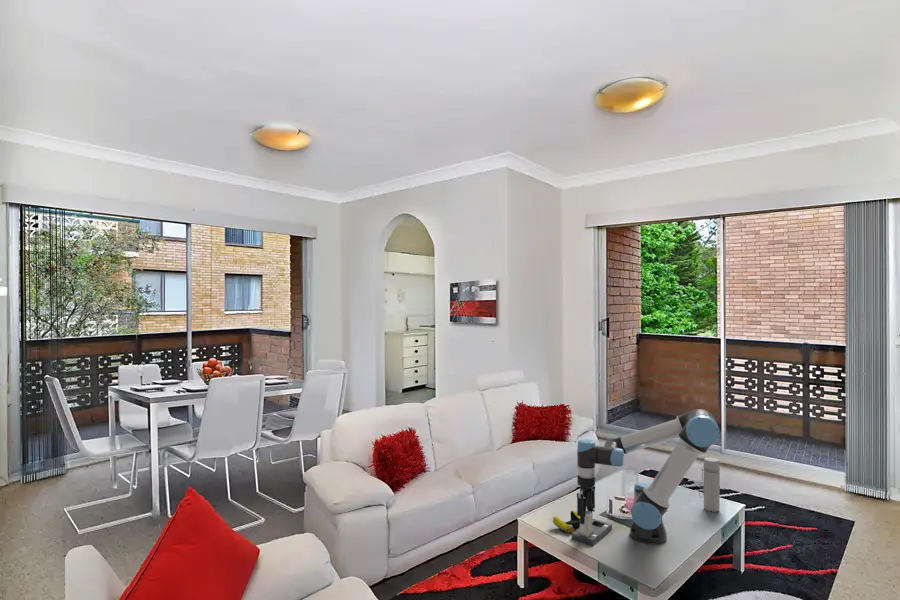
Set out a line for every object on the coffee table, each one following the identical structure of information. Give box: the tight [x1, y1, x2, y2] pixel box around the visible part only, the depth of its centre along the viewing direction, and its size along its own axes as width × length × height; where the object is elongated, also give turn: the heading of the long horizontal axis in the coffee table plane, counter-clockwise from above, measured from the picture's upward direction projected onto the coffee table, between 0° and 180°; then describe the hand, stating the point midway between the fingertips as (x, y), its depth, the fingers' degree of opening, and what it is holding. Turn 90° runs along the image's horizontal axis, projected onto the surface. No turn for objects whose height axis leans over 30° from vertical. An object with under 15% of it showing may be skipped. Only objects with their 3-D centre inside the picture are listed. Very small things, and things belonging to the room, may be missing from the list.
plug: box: [580, 509, 594, 537], centre depth 230 cm, size 4×4×12 cm
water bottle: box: [698, 457, 721, 513], centre depth 261 cm, size 9×8×25 cm
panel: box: [571, 518, 613, 547], centre depth 235 cm, size 10×20×3 cm, turn 140°
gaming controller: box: [552, 510, 580, 534], centre depth 241 cm, size 15×6×10 cm
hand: (586, 528), depth 230 cm, fingers open, 5 cm apart
